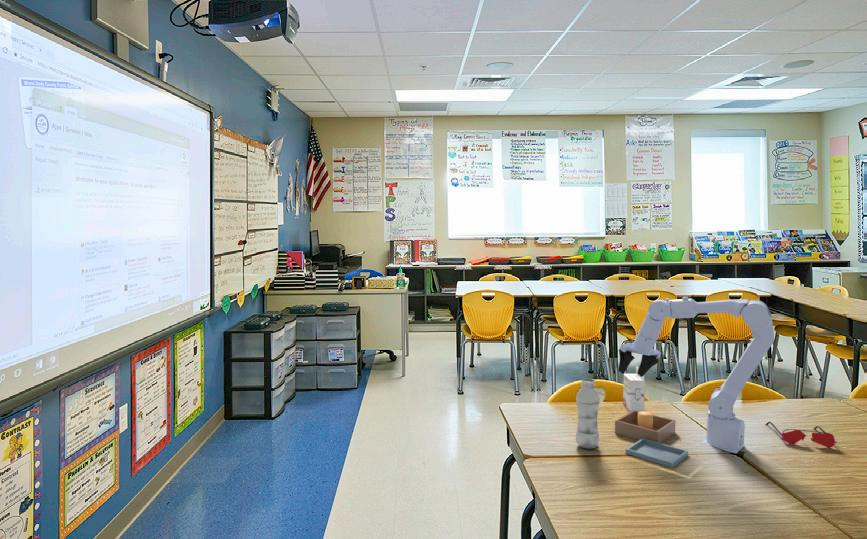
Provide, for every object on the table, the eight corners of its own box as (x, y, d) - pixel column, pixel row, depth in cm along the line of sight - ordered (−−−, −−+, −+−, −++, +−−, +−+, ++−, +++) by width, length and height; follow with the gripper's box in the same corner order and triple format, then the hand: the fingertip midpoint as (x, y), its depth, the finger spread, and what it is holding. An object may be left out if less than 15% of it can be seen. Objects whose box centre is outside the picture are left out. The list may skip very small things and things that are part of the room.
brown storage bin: (675, 434, 164) (675, 420, 164) (657, 447, 155) (657, 432, 155) (633, 423, 174) (634, 410, 173) (614, 434, 165) (615, 420, 164)
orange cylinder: (655, 432, 164) (655, 413, 164) (649, 436, 161) (649, 417, 161) (641, 428, 168) (641, 410, 167) (634, 432, 164) (635, 413, 164)
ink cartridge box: (621, 405, 192) (622, 365, 191) (635, 405, 192) (636, 365, 191) (630, 413, 184) (631, 371, 182) (644, 413, 183) (645, 371, 182)
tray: (688, 457, 148) (688, 451, 148) (672, 469, 141) (672, 463, 140) (642, 443, 157) (642, 438, 157) (625, 455, 150) (625, 449, 150)
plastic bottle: (600, 452, 152) (601, 384, 150) (575, 450, 153) (577, 382, 151) (598, 443, 158) (599, 377, 156) (574, 441, 159) (575, 376, 158)
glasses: (781, 445, 157) (782, 429, 157) (764, 425, 173) (765, 410, 172) (837, 451, 153) (838, 434, 153) (814, 430, 169) (815, 414, 168)
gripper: (657, 333, 172) (640, 370, 175) (621, 326, 166) (605, 364, 170) (671, 343, 165) (654, 381, 169) (635, 336, 160) (617, 375, 164)
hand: (630, 373), depth 169 cm, fingers open, 7 cm apart
